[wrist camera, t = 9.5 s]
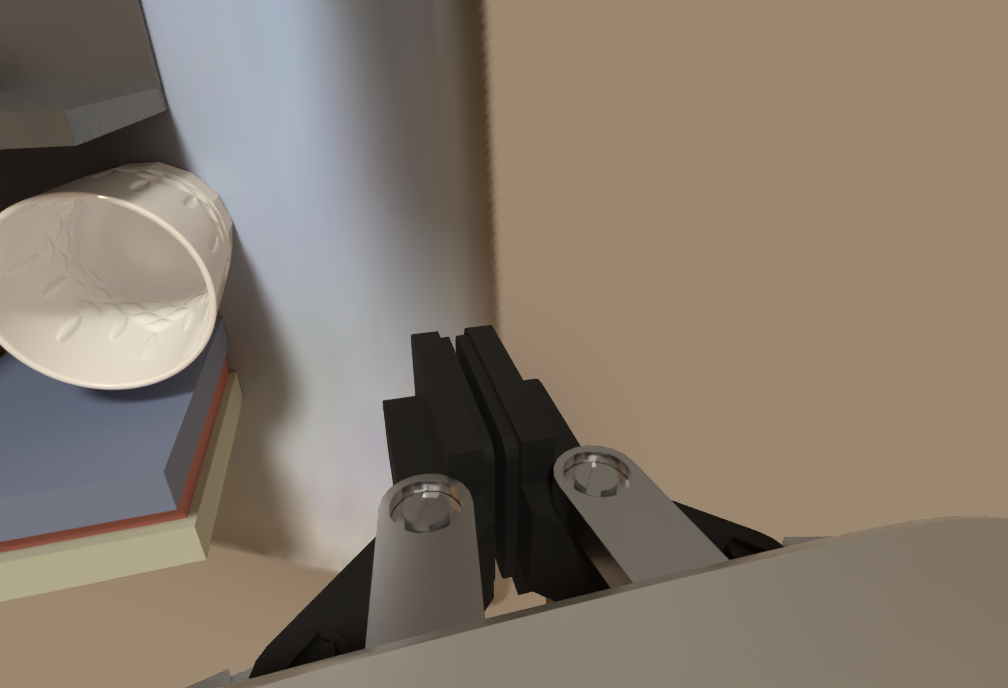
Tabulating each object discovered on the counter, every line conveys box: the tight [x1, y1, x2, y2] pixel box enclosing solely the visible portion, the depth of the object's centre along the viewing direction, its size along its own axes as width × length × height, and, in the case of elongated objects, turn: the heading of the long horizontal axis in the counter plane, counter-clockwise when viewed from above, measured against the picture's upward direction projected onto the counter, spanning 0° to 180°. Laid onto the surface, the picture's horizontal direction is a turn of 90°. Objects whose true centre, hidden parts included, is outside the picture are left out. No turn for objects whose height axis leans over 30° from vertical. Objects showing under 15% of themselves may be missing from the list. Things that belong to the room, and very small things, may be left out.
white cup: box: [0, 162, 233, 390], centre depth 26 cm, size 8×8×10 cm
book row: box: [0, 317, 243, 602], centre depth 27 cm, size 6×10×14 cm, turn 91°
